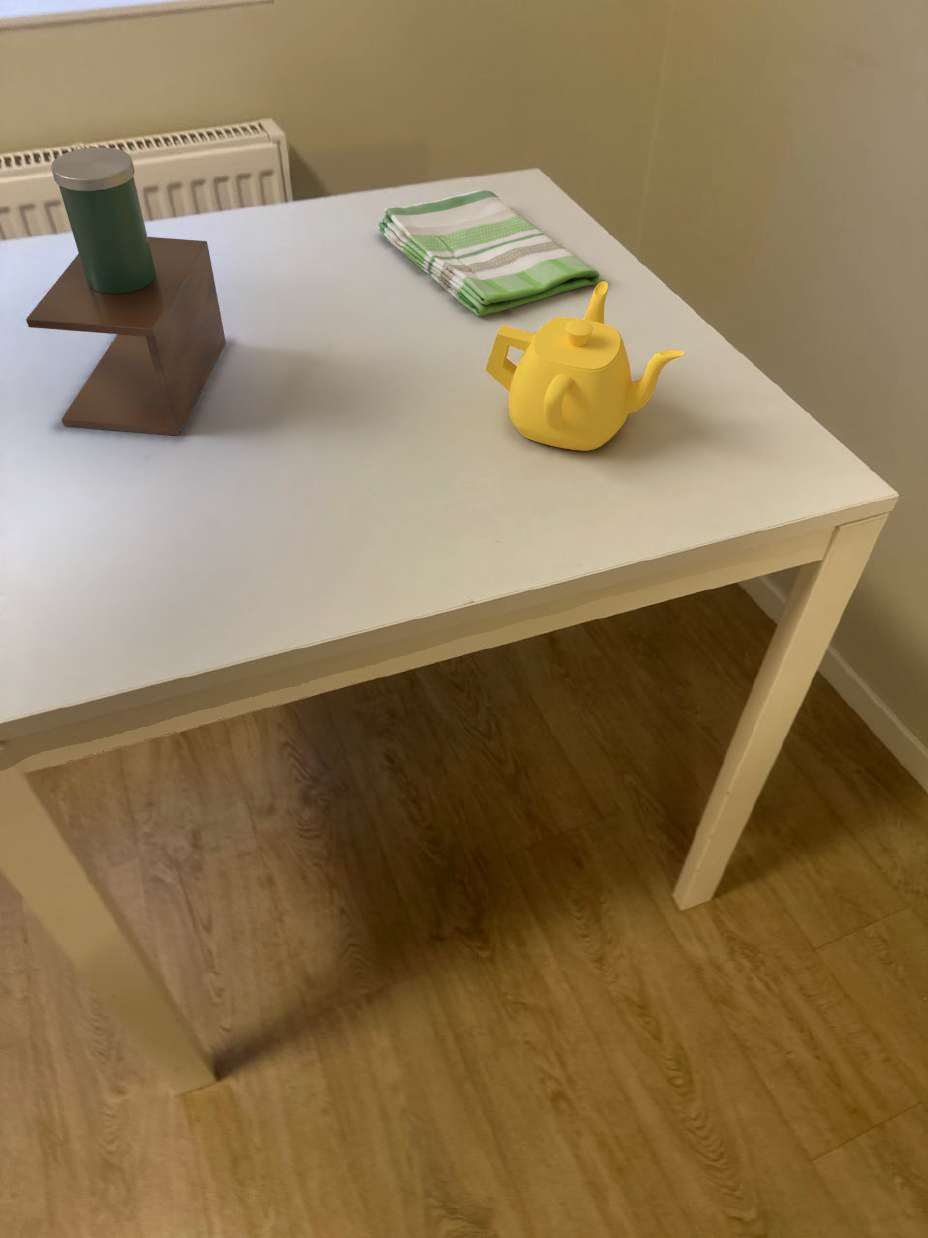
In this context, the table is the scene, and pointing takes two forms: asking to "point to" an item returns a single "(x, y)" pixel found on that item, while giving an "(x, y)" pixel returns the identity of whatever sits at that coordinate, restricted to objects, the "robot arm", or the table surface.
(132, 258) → the tin
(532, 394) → the teapot
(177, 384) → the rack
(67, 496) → the table surface
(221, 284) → the table surface
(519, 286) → the dish towel
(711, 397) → the table surface
